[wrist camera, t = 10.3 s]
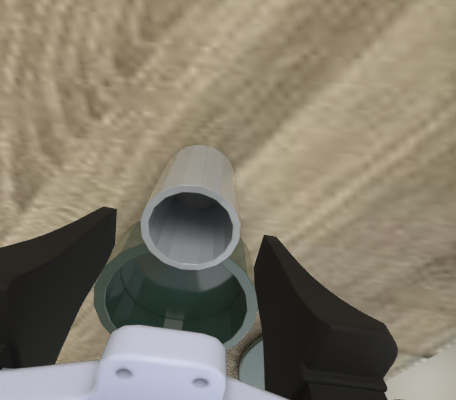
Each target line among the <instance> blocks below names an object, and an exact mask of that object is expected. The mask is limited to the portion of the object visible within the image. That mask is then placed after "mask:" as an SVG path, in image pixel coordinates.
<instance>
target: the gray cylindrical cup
mask: <svg viewBox="0 0 456 400" xmlns="http://www.w3.org/2000/svg"><path fill="white" fill-rule="evenodd" d="M140 223H141V236H142V238H143V240H144V242H145V244H146V245H147V247H148V249H149V251H150V252H151V253H152V254H154V255H155V256H156V257H157V258H158V259H160V260H161V261H162V262H163V263H165V264H168V265H171V266H173V267H176V268H179V269H185V270H202V269H205V268H209V267H212V266H216V265H218V264H219V263H220V262H222V261H223V260H225V259H226V258H227V257H229V256H230V255H231V254H232V252H233V250H234V249H235V247H236V245H237V244H238V242H239V238H240V228H241V222H240V212H239V202H238V192H237V182H236V175H235V171H234V168H233V165H232V163H231V162H230V160H229V159H228V158H227V156H225V155H224V154H223V153H222V152H221V151H219V150H217V149H216V148H213V147H211V146H207V145H191V146H188V147H185V148H183V149H181V150H179V151H178V152H177V153H175V154H174V155H173V156H172V158H171V159H170V160H169V162H168V163H167V165H166V167H165V169H164V171H163V173H162V175H161V177H160V179H159V181H158V183H157V185H156V187H155V189H154V191H153V193H152V194H151V196H150V198H149V200H148V202H147V204H146V207H145V209H144V211H143V214H142V216H141V220H140Z"/></svg>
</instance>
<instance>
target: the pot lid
mask: <svg viewBox="0 0 456 400" xmlns="http://www.w3.org/2000/svg"><path fill="white" fill-rule="evenodd" d="M239 380H240V381H243V382H245V383H248V384H250V385H253V386H256V387H258V388H261V389H263V390H265V384H264V355H263V337H262V336H261V337H260V338H258V339H257V340H256V341H255V342H253V343H252V344H251V345H250V346H249V347H248V349H247V350H246V351H245V353H244V354H243V356H242V358H241V361H240V364H239Z"/></svg>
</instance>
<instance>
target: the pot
mask: <svg viewBox="0 0 456 400" xmlns="http://www.w3.org/2000/svg"><path fill="white" fill-rule="evenodd" d="M94 307H95V309H96V312H97V314H98V317H99V319H100V322H101V323H102V325H103V326H104V327H105V329H106V330H107V331H108V332H109V333H110V334H111V333H112V332H113V331H115V330H117V329H119V328H121V327H122V326H125V325H145V326H153V327H160V328H167V329H175V330H182V331H189V332H196V333H203V334H206V335H209V336H212V337H215V338H217V339H218V340H219V341H220V342H221V343H222V344H223V345H224V346H225V349H226V351H227V350H228V349H230V348H232V347H233V346H235V345H236V344H238V343H239V342H240V341H241V340H242V339H243V337H244V336H245V335H246V334H247V333H248V332H249V331H250V329H251V328H252V326H253V323H254V320H255V317H256V314H257V311H258V306H257V297H256V291H255V285H254V270H253V263H252V260H251V257H250V253H249V251H248V249H247V247H246V245H245V244H244V242H243V241H242V239H241V238H239V242H238V244H237V245H236V247H235V249H234V250H233V252H232V254H231V255H230V256H229V257H227V258H226V259H225V260H223V261H222V262H220V263H219V264H218V265H216V266H212V267H209V268H205V269H202V270H185V269H179V268H176V267H173V266H171V265H168V264H165V263H163V262H162V261H161V260H160V259H158V258H157V257H156V256H155V255H154V254H152V253H151V252H150V251H149V249H148V247H147V245H146V244H145V242H144V240H143V238H142V236H141V223H140V221H139V222H137V223H136V224H134V225H133V226H132V227H130V228H129V229H128V230H127V231H126V232H125V233H124V234H123V236H122V237H121V238H120V239H119V241H118V242H117V244H116V246H115V248H114V250H113V251H112V253H111V255H110V257H109V259H108V262H107V263H106V265H105V267H104V268H103V270H102V272H101V273H100V275H99V277H98V279H97V281H96V283H95V286H94Z"/></svg>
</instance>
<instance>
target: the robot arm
mask: <svg viewBox="0 0 456 400" xmlns="http://www.w3.org/2000/svg"><path fill="white" fill-rule="evenodd" d="M116 215H117V209H114V208H108V207H102V208H100V209H98V210H96V211H94V212H92V213H90V214H88V215H86V216H84V217H82V218H81V219H79V220H77V221H75V222H73V223H71V224H68V225H66V226H64V227H62V228H59V229H57V230H55V231H53V232H50V233H48V234H45V235H42V236H39V237H36V238H34V239H31V240H27V241H24V242H20V243H16V244H13V245H9V246H5V247H1V248H0V400H387V398H386V396H385V393H384V392H386V391H387V386H386V384H385V382H384V380H383V378H384V376H385V375H386V373H387V372H388V370H389V369H390V367H391V366H392V365H393V363H394V361H395V359H396V357H397V354H398V348H397V345H396V342H395V341H394V339H393V337H392V335H391V334H390V332H389V330H388V329H387V327H386V325H385V324H384V323H382V322H380V321H378V320H376V319H374V318H372V317H370V316H368V315H366V314H364V313H362V312H361V311H359V310H357V309H356V308H354V307H352V306H351V305H349V304H347V303H346V302H344V301H343V300H341V299H340V298H338V297H337V296H336V295H334V294H333V293H331V292H330V291H329V290H327V289H326V288H325V287H324V286H323V285H321V284H320V283H319V282H318V281H317V280H315V279H314V278H313V277H312V276H311V275H310V274H309V273H308V272H307V271H306V270H305V269H304V268H303V267H302V266H301V265H300V264H299V263H298V262H297V261H296V259H295V258H294V257H293V256H292V255H291V254H290V253H289V251H288V250H287V249H286V248H285V247H284V245H283V244H282V243H281V242H280V241H279V240H278V238H277V237H274V236H268V235H264V237H263V240H262V243H261V246H260V250H259V253H258V256H257V259H256V262H255V266H254V285H255V291H256V297H257V303H258V309H259V315H260V320H261V327H262V337H263V355H264V384H265V390H263V389H261V388H258V387H256V386H253V385H250V384H248V383H245V382H243V381H240V380H238V379H235V378H232V377H230V376H227V375H226V349H225V346H224V345H223V344H222V343H221V342H220V341H219V340H218V339H217V338H215V337H212V336H209V335H206V334H203V333H196V332H189V331H182V330H175V329H167V328H160V327H153V326H145V325H125V326H122V327H121V328H119V329H117V330H115V331H113V332H112V333H111V336H110V338H109V340H108V342H107V344H106V347H105V349H104V352H103V354H102V357H101V359H100V360H92V361H83V362H74V363H64V364H55V363H56V360H57V358H58V356H59V353H60V351H61V348H62V346H63V344H64V342H65V339H66V337H67V335H68V333H69V330H70V328H71V326H72V324H73V322H74V320H75V317H76V315H77V313H78V311H79V309H80V307H81V305H82V303H83V301H84V300H85V298H86V296H87V295H88V293H89V291H90V290H91V288H92V286H93V285H94V283H95V282H96V280H97V278H98V277H99V275H100V273H101V272H102V270H103V268H104V267H105V265H106V263H107V262H108V259H109V257H110V255H111V253H112V250H113V248H114V245H115V233H116ZM396 400H400V399H396Z"/></svg>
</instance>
